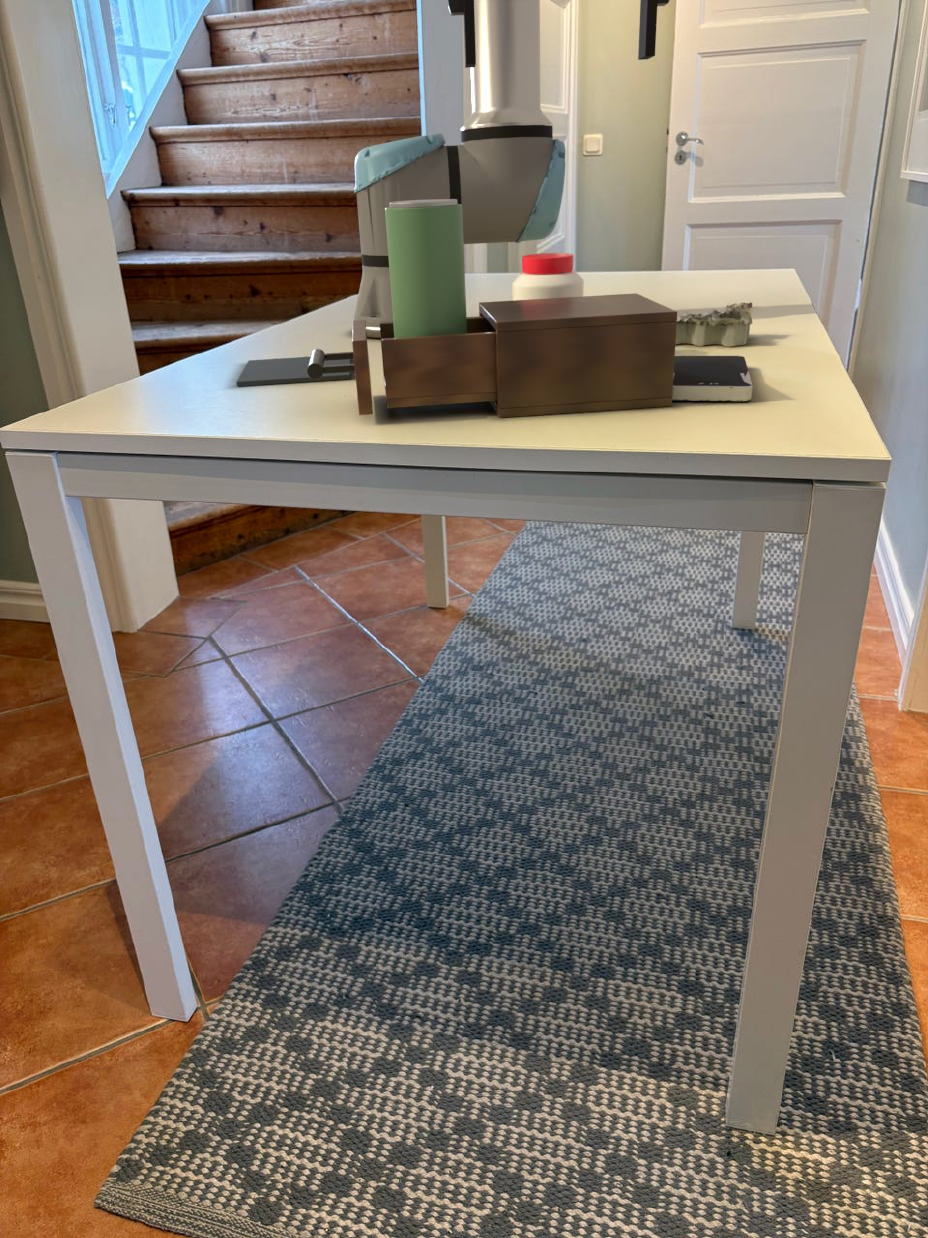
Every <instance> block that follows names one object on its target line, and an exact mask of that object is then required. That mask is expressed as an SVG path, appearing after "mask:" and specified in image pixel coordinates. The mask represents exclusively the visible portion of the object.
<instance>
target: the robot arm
mask: <svg viewBox="0 0 928 1238" xmlns="http://www.w3.org/2000/svg"><path fill="white" fill-rule="evenodd" d="M639 2H640V3H639V26H638V27H639V29H638V50H637V52H638V53H637V55H638V56H637V60H638V61H640V60H641V61H643V60H649V59H652V58H653V57H655V56H656V42H657V21H658V7H665V6H667V5H668V4H669V3H670V0H639ZM540 3H541V0H447V9H448V11H449V14H450V16H463V19H462V20H463V43H464V46H463V47H464V68H465V69H466V68H469V69H470V87H471V90H470V91H471V112H470V113H471V114H470V116H469V117H468V118H467V120H466V121H465V122H464V124H463V125H462V126H461V127H460V144H457V145H456V144H455V145H446V140H445V137H444V135H443V134H442V133H440V132H438V133H431V134H426V135H420V136H414V137H409V138H408V137H407V138H404V139H399V140H394V141H388V142H384V143H380V144H375V145H371V146H367V147H364V148H362V149H360V150H359V151H358V153H357V154H356V155H355V159H354V179H355V180H354V185H355V187H354V189H353V191H354V194H356V203H357V204H356V205H357V217H358V229H359V241H360V254H361V255H360V256H361V266H362V267H361V268H362V275H361V279H360V280H361V281H360V285H359V290H358V294H357V299H356V304H355V309H354V314H353V321H355V320H365V321H366V332H367V338H372V339H373V338H374V339H381V336H380V324H379V323H380V322H393V311H392V298H391V284H390V271H389V257H388V244H387V230H386V217H385V208H387V207H389V203H390V202H397V201H410V200H430V199H457V204H462V213H463V239H464V245H476V244H497V243H498V244H499V243H516V244H520V243H521V242H528V241H529V242H530V241H538V240H539V241H540V240H545V239H546V238H548V237H550V235H551V234H552V233H553V231H554V230H555V227H556V225H557V222H558V219H559V215H560V211H561V207H562V202H563V195H564V187H565V179H566V178H565V177H566V164H567V163H566V154H567V153H566V152H567V151H566V146H565V143H564V142H563V141H562V140H560V139H558V138H555V139H553V134H554V133H553V132H554V131H553V129H554V128H553V126H554V125H553V122H552V121H550V119H549V118H548V117H547V116H546V115H545V114H544V112H543V110H542V109H541V17H540V16H541V5H540Z"/></svg>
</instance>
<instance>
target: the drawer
mask: <svg viewBox="0 0 928 1238" xmlns="http://www.w3.org/2000/svg"><path fill="white" fill-rule="evenodd" d="M466 317H467V334H451V335H434V336H418V337H401V338H394V325H393V322H380V323H379V324H380V336H381V338H380V346H381V347H380V348H381V349H380V350H381V360H382V371H383V385H384V392H385V400H386V407H387V409H392V408H407V407H408V408H409V407H423V406H441V405H453V404H454V405H455V404H467V403H468V404H469V403H483V402H484V403H485V402H490V401H497V363H496V330H495V329H494V327H493V326H492V325H491V324H490V323H489V322H488V320H487V319H486V318H485V317H484V316H479V315H478V316H466ZM351 335H352V336H351V341H352V342H351V343H352V344H351V345H352V351H343V352H342V351H341V352H340V351H339V352H327V353H325V351H324V350H323V349H320V348H315V349H313V350H312V351H311V353H310V356H309V357H310V360H309V364H308V368H307V374H308V376H309V377H310V378H312V379H319V378H321V377H322V375H323V372H324V374H329V373H345V372H351V373H354V374H355V375H354V376H355V388H356V396H357V407H358V415H359V416H367V415H369V416H370V415H374V409H373V394H372V380H371V368H370V357H369V345H368V337H367V332H366V321H365V320H355V321H354V320H352V333H351ZM325 359H326V361H331V360H347V359H351V360H353V363H351V364H345V365H329V366H324V365H325Z"/></svg>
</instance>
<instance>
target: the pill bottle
mask: <svg viewBox="0 0 928 1238" xmlns="http://www.w3.org/2000/svg"><path fill="white" fill-rule="evenodd" d="M574 257H575V256H574V254H573V253H567V252H546V253H545V252H544V253H532V254H525V255H522V257H521V269H522V270H521V271H522V272H520V273H518V275H517V276H516V277H515V278H514V279H513V281H512V283H511V301H514V300H531V299H548V298H566V297H583V296H585V294H584V292H585V291H584V290H585V289H584V288H585V282H584V281H585V280H584V278H583V277H581V275H580V274H579V273H578V272H577V271H576V270H574V260H575V258H574Z"/></svg>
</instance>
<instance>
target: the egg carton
mask: <svg viewBox="0 0 928 1238" xmlns="http://www.w3.org/2000/svg"><path fill="white" fill-rule="evenodd" d="M753 308H754V307H753V302H740V303H732V304H726V306H725V308H724V309H723V310H718V309H712V310H711V311H710V312H705V313H701V312H692V313H684V314H683V315H682V314H678V315H677V328H676V344H675V345H679V344H689V345H690V344H692V345H694V346H697V347H704V346H707V345H708V346H709V345H721V346H724V347H725V348H727V347H736V346H745V345H746V344H747V341H748V340H749V339H750V330H751V325H753V318H752V312H753V310H754V309H753Z"/></svg>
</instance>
